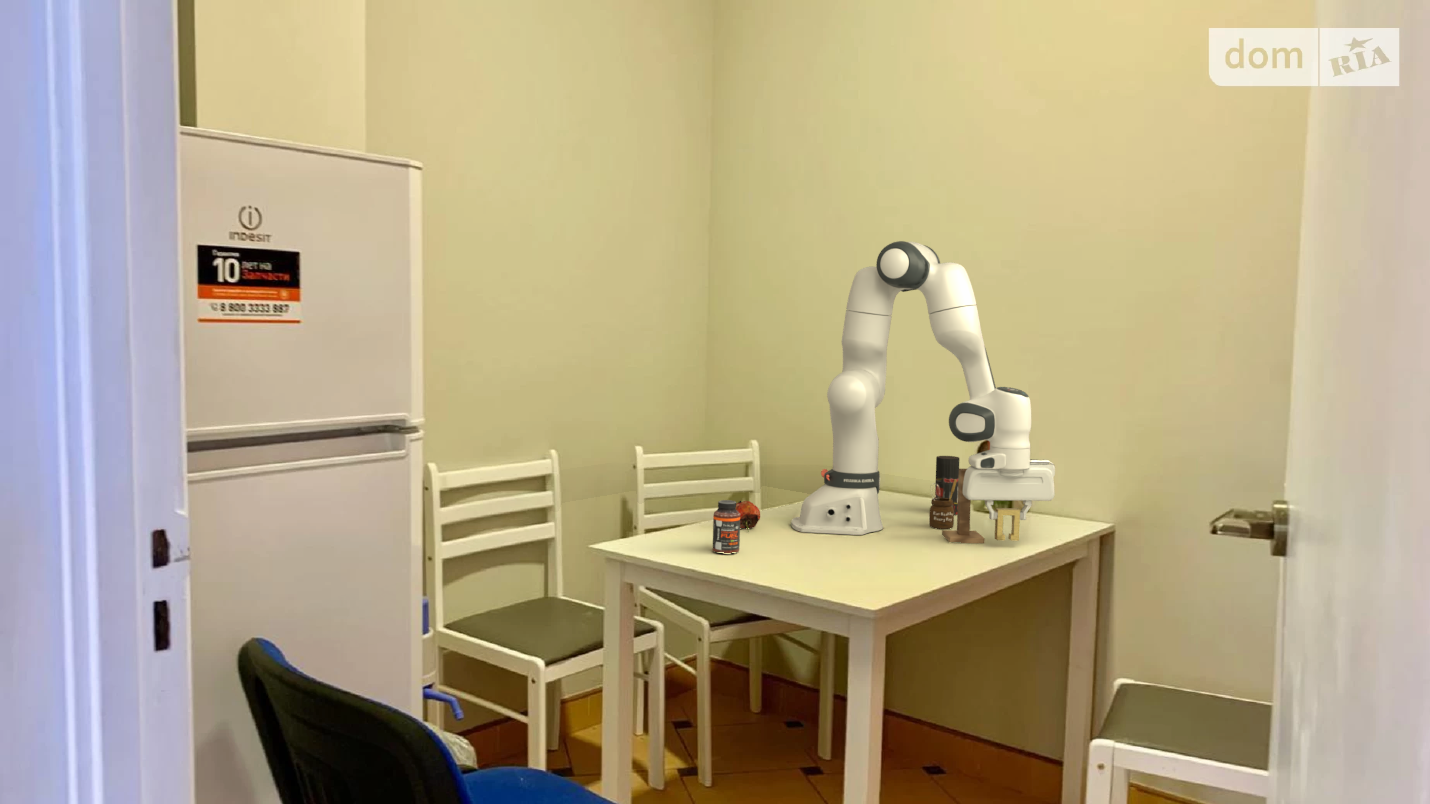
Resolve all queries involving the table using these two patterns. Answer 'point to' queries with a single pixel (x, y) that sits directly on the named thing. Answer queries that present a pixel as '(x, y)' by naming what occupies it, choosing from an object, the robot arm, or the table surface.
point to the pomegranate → (748, 514)
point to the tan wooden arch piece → (1015, 523)
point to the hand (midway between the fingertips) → (1007, 519)
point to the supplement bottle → (726, 527)
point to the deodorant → (947, 478)
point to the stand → (963, 519)
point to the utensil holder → (942, 511)
